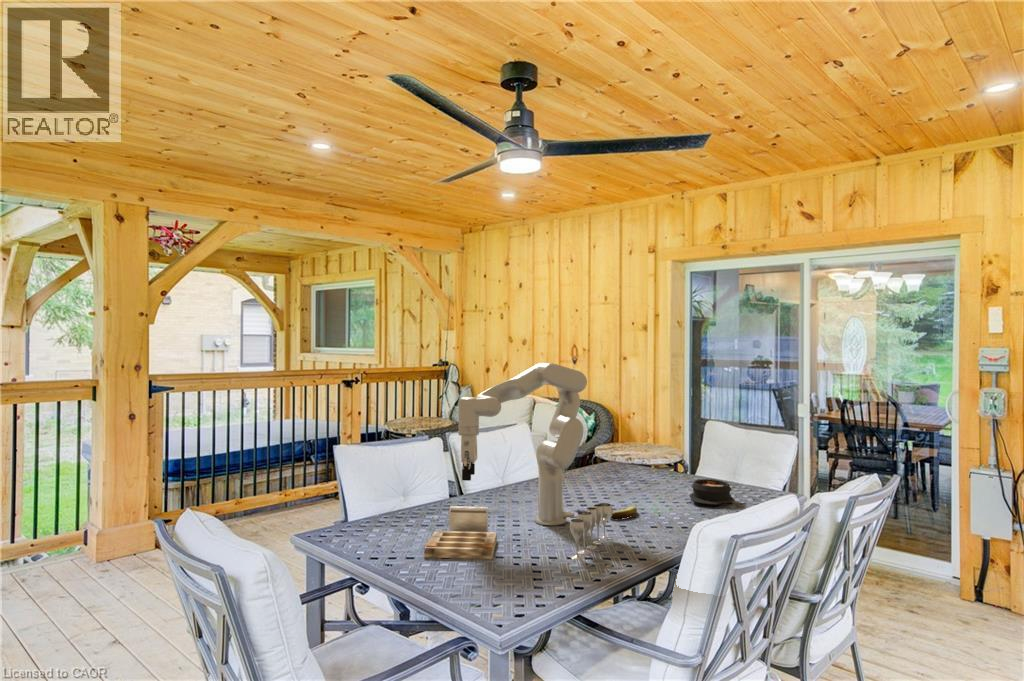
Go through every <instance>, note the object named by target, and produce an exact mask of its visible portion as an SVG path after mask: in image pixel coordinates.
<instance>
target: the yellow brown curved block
mask: <svg viewBox="0 0 1024 681" xmlns="http://www.w3.org/2000/svg"><path fill="white" fill-rule="evenodd" d="M637 512H638V509H637V508H636V506H629V507H626V508H624V509H621V510H616V511H613V514H612V516H611V518H610V519H611V520H613V519H622V518H627V517H630V516H632V517H634V516H635V515H636V513H637ZM634 514H635V515H634ZM633 515H634V516H633ZM630 518H631V517H630ZM610 519H609V520H610ZM627 519H628V518H627Z"/></svg>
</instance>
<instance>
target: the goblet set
mask: <svg viewBox="0 0 1024 681" xmlns="http://www.w3.org/2000/svg"><path fill="white" fill-rule="evenodd" d="M613 512H614V511H613V506H612V504H610V503H608V502H601V503H598V504H594V505H593V507H591V506H590V507H586V510H581V511H578V512H577V514H576V518H571V520H570V522H569V530H570V534H571V536H572V537H573V539H574V540H575V545H576V546H575V547H576V554H573V555H570V556H569V558H571V559H572V560H576V561H579V560H580V559H581V560H583V559H584V558H585V556H583V554H587V555H590V554H589V553H591V554H592V551H591V550H590V549H586V537H587V534H588V532H589V531H590V544H588V545H589V546H588V545H587V546H588V548H596V547H597V546H596V545H594V546H593V540H592V539H593V531H594V527H595V525H596V529H597V532H596V533H597V540H594V542H595V543H602V542H603V541H602V540H600V539H599V535H600V534H599V533H600V530H599V529H600V526H601V523H600V522H602V523H603V524H602V525H603V535H601V536H602V537H601V538H603V539H608V538H609V537H610V536H608V537H606V526H607V525H606V523H608V522H609V520H610V518H611V516H612V514H613ZM607 521H608V522H607ZM582 536H583V537H582ZM581 538H583V549H579V542H580V539H581ZM601 541H602V542H601ZM578 549H579V550H578ZM596 549H597V548H596ZM590 551H591V552H590ZM579 553H580V554H579ZM581 560H580V561H581Z"/></svg>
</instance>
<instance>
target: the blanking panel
mask: <svg viewBox="0 0 1024 681" xmlns="http://www.w3.org/2000/svg"><path fill="white" fill-rule="evenodd" d="M448 520H449V524H448V525H449V530H448V531H461V532H489V507H488V506H470V505H469V506H466V505H465V506H464V505H463V506H462V505H461V506H460V505H459V506H458V505H451V506H449V519H448Z"/></svg>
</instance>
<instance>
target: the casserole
mask: <svg viewBox="0 0 1024 681" xmlns="http://www.w3.org/2000/svg"><path fill="white" fill-rule="evenodd" d="M691 488H692V490H693V492H692V493H690V494H689V498H690V501H692V502H693V503H698V504H702V505H711V506H712V505H714V506H716V505H717V504H718V505H723V504H722V503H724V504H726V503H732V502H733V501H734V498H733V496H732V494H731V493H730V492H731V491H732V487H731V486H730V484H729V483H728V482H727V481H723V480H718V479H705V478H704V479H697V480H694V481H693V482H692V485H691Z"/></svg>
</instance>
